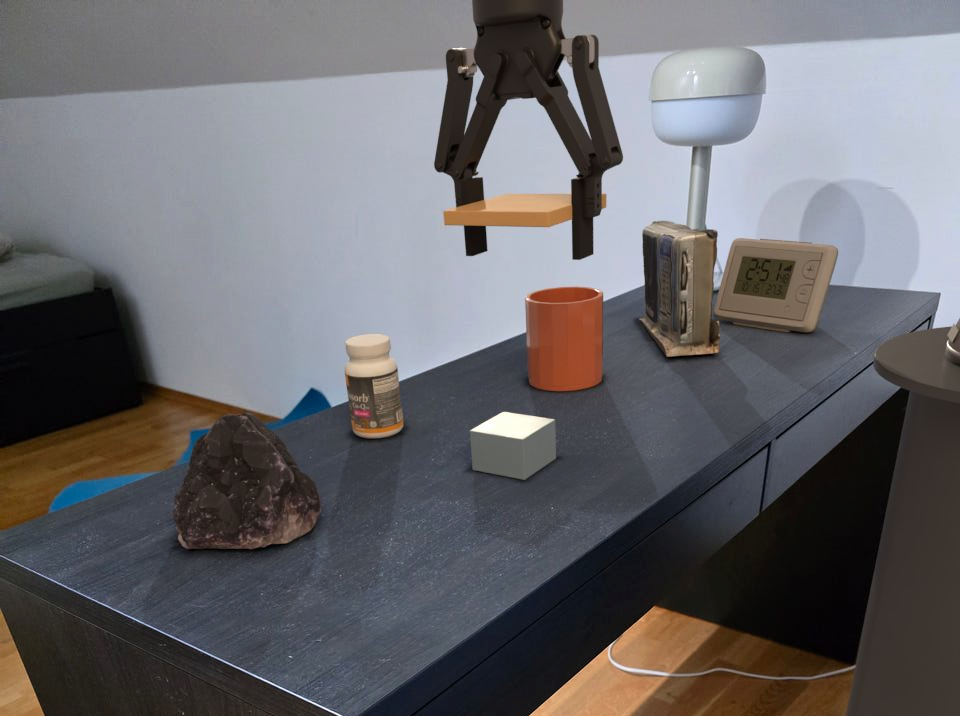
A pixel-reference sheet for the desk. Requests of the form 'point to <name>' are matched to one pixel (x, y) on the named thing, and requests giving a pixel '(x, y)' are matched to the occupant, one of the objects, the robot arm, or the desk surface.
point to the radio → (680, 288)
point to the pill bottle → (373, 387)
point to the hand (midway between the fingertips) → (528, 255)
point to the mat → (515, 211)
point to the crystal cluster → (243, 489)
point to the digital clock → (775, 284)
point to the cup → (564, 338)
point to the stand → (513, 445)
